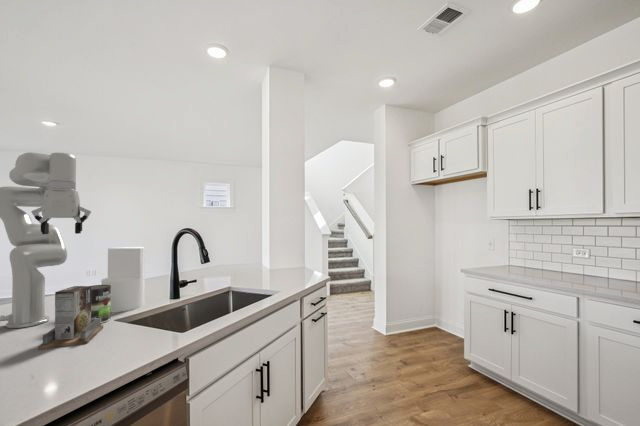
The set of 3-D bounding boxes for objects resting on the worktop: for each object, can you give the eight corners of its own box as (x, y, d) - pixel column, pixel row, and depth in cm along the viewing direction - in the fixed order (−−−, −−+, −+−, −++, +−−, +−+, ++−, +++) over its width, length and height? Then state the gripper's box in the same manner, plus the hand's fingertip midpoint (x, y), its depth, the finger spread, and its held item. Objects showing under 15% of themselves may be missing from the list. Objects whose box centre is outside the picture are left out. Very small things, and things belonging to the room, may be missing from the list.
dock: (38, 349, 96) (38, 336, 96) (61, 332, 111) (61, 321, 111) (87, 343, 100) (87, 331, 100) (103, 327, 115) (103, 317, 115)
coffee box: (72, 330, 110) (73, 286, 110) (91, 329, 111) (92, 285, 111) (53, 340, 101) (54, 291, 101) (74, 339, 101) (74, 291, 102)
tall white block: (121, 301, 154) (121, 246, 155) (152, 302, 152) (152, 246, 152) (91, 311, 137) (92, 250, 138) (125, 312, 134) (126, 250, 135)
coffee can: (117, 318, 127) (117, 284, 127) (94, 326, 117) (94, 290, 117) (96, 317, 129) (96, 284, 129) (72, 325, 119) (72, 289, 119)
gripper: (26, 185, 104) (25, 234, 104) (87, 186, 110) (86, 233, 110) (38, 187, 111) (37, 234, 111) (94, 188, 117) (93, 233, 117)
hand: (61, 233), depth 110 cm, fingers open, 9 cm apart
